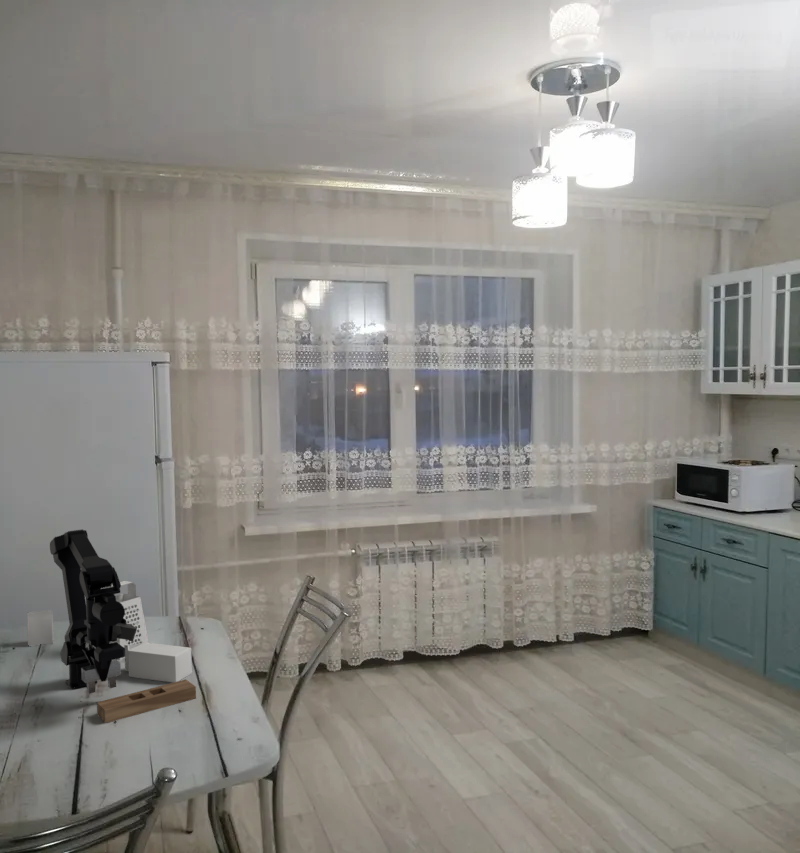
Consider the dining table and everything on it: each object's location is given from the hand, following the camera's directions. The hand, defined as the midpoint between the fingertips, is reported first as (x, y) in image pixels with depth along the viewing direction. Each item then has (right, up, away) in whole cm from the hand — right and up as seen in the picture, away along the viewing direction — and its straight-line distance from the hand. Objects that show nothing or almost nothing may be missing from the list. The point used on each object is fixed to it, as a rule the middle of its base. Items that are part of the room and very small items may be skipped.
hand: (101, 679), depth 190 cm
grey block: (0, -3, 0) cm, 3 cm away
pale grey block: (-36, -4, +46) cm, 59 cm away
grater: (-8, -4, +38) cm, 40 cm away
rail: (+12, -6, -2) cm, 13 cm away
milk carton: (+16, -2, +16) cm, 22 cm away
